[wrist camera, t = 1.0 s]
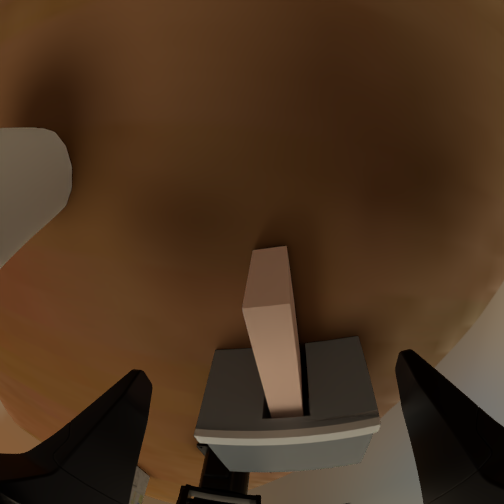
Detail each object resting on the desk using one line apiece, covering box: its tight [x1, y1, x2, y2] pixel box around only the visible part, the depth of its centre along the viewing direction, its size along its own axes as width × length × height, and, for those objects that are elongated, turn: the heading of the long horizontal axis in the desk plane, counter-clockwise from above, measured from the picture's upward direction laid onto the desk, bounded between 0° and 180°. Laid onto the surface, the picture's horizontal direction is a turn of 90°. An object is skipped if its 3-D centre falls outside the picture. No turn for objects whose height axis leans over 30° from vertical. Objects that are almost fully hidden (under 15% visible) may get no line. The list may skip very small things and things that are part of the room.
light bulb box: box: [129, 466, 150, 504], centre depth 34 cm, size 11×7×11 cm, turn 3°
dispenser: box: [194, 336, 381, 472], centre depth 17 cm, size 8×10×7 cm
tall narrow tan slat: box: [242, 246, 304, 418], centre depth 14 cm, size 10×2×5 cm, turn 10°
